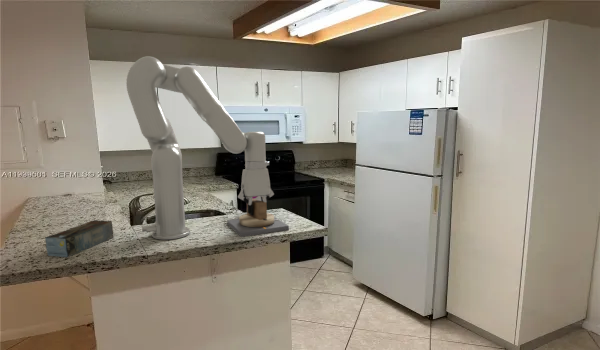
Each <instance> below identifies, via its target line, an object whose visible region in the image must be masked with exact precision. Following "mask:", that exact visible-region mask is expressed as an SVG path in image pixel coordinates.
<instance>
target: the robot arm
mask: <svg viewBox="0 0 600 350" xmlns="http://www.w3.org/2000/svg"><path fill="white" fill-rule="evenodd" d="M125 83H126V91H127V94H128V97H129V100H130V103H131V106H132V109H133V111H134V115H135V118H136V120H137V123H138V126H139V129H140V132H141V135H142V136H143V137H144V138H145V139H146V140H147V142H148V145H149V148H150V150H151V152H152V154H151V159H150V165H151V166H150V167H151V174H152V181H153V182H152V183H153V195H154V197H153V199H154V209H155V210H154V211H155V221H154V223H152V224H151V225H143V226H141V232H142V233H143V232H144V233H151V232H152V233H151V237H152V238H154V239H156V240H162V241H163V240H165V241H167V240H176V239H181V238H184V237H186V236H188V235H189V234H191V229H190V228H189V227H188V226H187V227H186V217H185V216H186V215H185V198H184V197H185V196H184V181H183V155H182V151H181V148H180V146H179V142H178V139H177V138H176V135H175V132H174V129H173V127H172V124H171V122H170V120H169V119H168V118H167V116H166V115H165V113H164V110H163V108H162V105H161V102H160V99H159V97H158V95H157V94H158V93H157V91H156V88H158V89H162V90H167V91H170V92H174V93H179V94H182V95H183V96H184V98H185V100H187V101H188V103H189V104H190V106H191V107H192V109H193V110H194V111H195V112H196V114H198V116H199V117H200V119H201V120H202V121H203V122H204V123H206V124H207V126H209V127H210V128H211V130H212V131H213V132H214V133H215V135H216V136H217V137H218V138H219V140H220V142H221V143H222V146H223V147H224V148H225V150H226V151H228V152H229V153H232V154H236V155H237V154H241V153H242V152H244V162H245V164H244V166H245V167H244V168H245V169H242V173H241V174H242V175H241V185H240V187H241V188H240V189H241V190H240V192H239V194H238V195H237V198H238V199H240V200H241V201H243V202H244V203H246V206H247V205H248V213H249V214H250V215H251V216H253V205H252V198H253V197H255V196H260V198H261V201H263V202H266V203H268V201H269V199H270V198H271V197H273V196H274V195H275V193H274V191H273V190H272V188H271V180H270V175H269V169H268V168H267V166H270V161H267V160H266V159H267V157H266V134H265V132H263V131H248V132H243V131H242V130H241V129H240V127H239V126H238V124H237V123H236V122H235V121H234V119H233V117H231V115H230V114H229V113H228V112H227V110H226V108H224V106H223V104H222V103H221V102H220V100H219V99H218V97H216V95H215V93H213V91H212V90H211V88H210V87H209V85H208V84H207V83H206V82H205V80H204V79H203V77H202V75H200V73H199V72H198V71H197V70H196V69H195V68H194V67H191V66H183V67H179V68H178V67H175V66H171V65H167V64H164V63H162V62H161V60H160V59H158V58H156V57H155V56H149V55H146V56H143V57H140V58H139V59H137V60H136V61H135V62H133V64H132V65H131V67H130V68H129V70H128V72H127V76H126V82H125Z"/></svg>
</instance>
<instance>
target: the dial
mask: <svg viewBox="0 0 600 350" xmlns="http://www.w3.org/2000/svg"><path fill="white" fill-rule="evenodd" d="M267 203H268V202H267ZM267 203H266V202H263V201H259V200H256V199H252V205H253V216H251V215H250V214H249V213H248V205H247V204H246V214H245V213H244V214H242V215H240V216H238V217H239V218H238V219H239V223H240V225H242V226H247V227H263V226H268V225H271V224H273V223H274V217H275V215H274V214H272V213H269V212H268V208H267V207H268V206H267Z"/></svg>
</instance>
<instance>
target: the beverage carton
mask: <svg viewBox="0 0 600 350" xmlns="http://www.w3.org/2000/svg"><path fill="white" fill-rule="evenodd" d="M111 239H114V229H113V222H112V220H97V219H96V220H95V219H94V220H90V221H89V222H86V223H82V224H80V225H78V226H75V227H72V228H69V229H66V230H63V231H61V232H60V231H59V232H58V233H55V234H51V235H48V236H45V245H46V246H45V247H46V252H47V256H49V257H61V258H70V257H71V256H73V255H76V254H79V253H82V252H84V251H86V250H88V249H90V248H93V247H94V246H97V245H99V244H101V243H103V242H106V241H109V240H111Z"/></svg>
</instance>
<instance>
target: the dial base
mask: <svg viewBox="0 0 600 350" xmlns="http://www.w3.org/2000/svg"><path fill="white" fill-rule="evenodd" d="M226 224H227V226H229V227H230V228H231V229H232V230H233V231H234V232H235V233H236V234H238V236H240V237H241V238H243V237H249V236H255V235H262V234H269V233H276V232H282V231H289V230H290V226H289V224H287V223H285V222H283V221H282V220H280V219H278V218H277V217H275V216H274V223H273V224H271V225H268V226H263V227H247V226H242V225H240V223H239V218H235V219H233V218H232V219H227V220H226Z"/></svg>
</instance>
